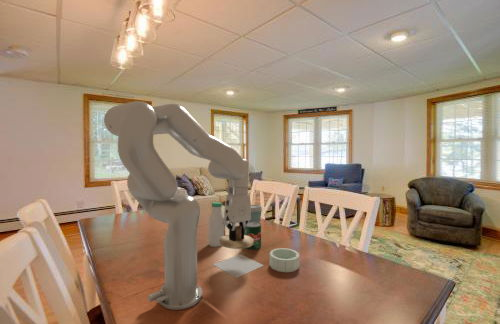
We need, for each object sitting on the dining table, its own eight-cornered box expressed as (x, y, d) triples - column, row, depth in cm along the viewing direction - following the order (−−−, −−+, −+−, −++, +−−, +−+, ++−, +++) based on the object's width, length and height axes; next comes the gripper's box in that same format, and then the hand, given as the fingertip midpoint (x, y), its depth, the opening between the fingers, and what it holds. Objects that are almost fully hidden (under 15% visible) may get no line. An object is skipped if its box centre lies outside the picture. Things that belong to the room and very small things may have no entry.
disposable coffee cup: (239, 234, 134) (239, 206, 133) (246, 228, 144) (246, 202, 143) (258, 237, 130) (259, 208, 129) (264, 230, 140) (264, 204, 140)
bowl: (286, 276, 90) (286, 262, 90) (264, 266, 98) (264, 253, 98) (304, 266, 97) (304, 254, 97) (282, 257, 105) (282, 246, 105)
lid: (234, 251, 87) (234, 234, 87) (212, 241, 97) (213, 225, 96) (260, 243, 96) (261, 227, 96) (238, 235, 105) (239, 220, 105)
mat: (235, 279, 88) (235, 277, 88) (212, 265, 98) (212, 264, 98) (264, 266, 97) (264, 265, 97) (240, 255, 107) (240, 254, 107)
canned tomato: (252, 252, 111) (253, 227, 110) (240, 247, 116) (240, 224, 116) (264, 247, 117) (264, 223, 116) (252, 243, 122) (252, 220, 121)
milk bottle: (222, 248, 115) (222, 204, 114) (206, 247, 117) (206, 204, 116) (227, 242, 123) (227, 201, 122) (212, 241, 124) (211, 200, 123)
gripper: (226, 194, 88) (225, 246, 88) (260, 190, 99) (259, 237, 99) (214, 191, 93) (212, 241, 93) (247, 188, 104) (246, 232, 105)
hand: (236, 238), depth 96 cm, fingers closed on lid, 3 cm apart
